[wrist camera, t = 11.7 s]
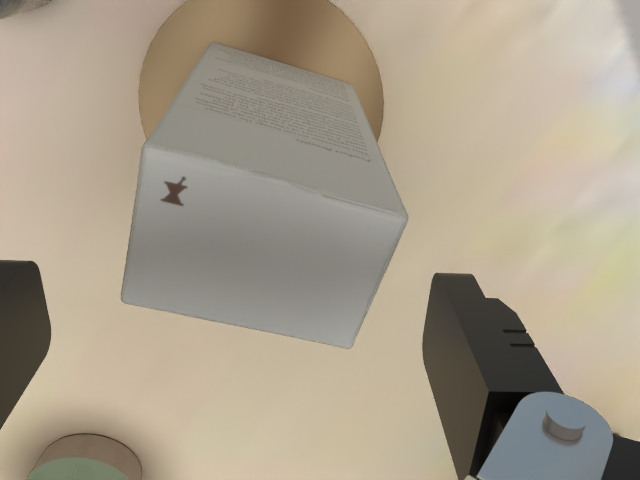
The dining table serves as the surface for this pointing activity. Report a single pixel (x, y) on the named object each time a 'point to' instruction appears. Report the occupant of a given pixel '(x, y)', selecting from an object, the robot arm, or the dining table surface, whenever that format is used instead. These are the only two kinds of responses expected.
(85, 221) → the dining table surface
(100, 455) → the coffee cup
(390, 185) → the skincare box
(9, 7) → the spacer field
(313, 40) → the coaster
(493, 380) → the robot arm
